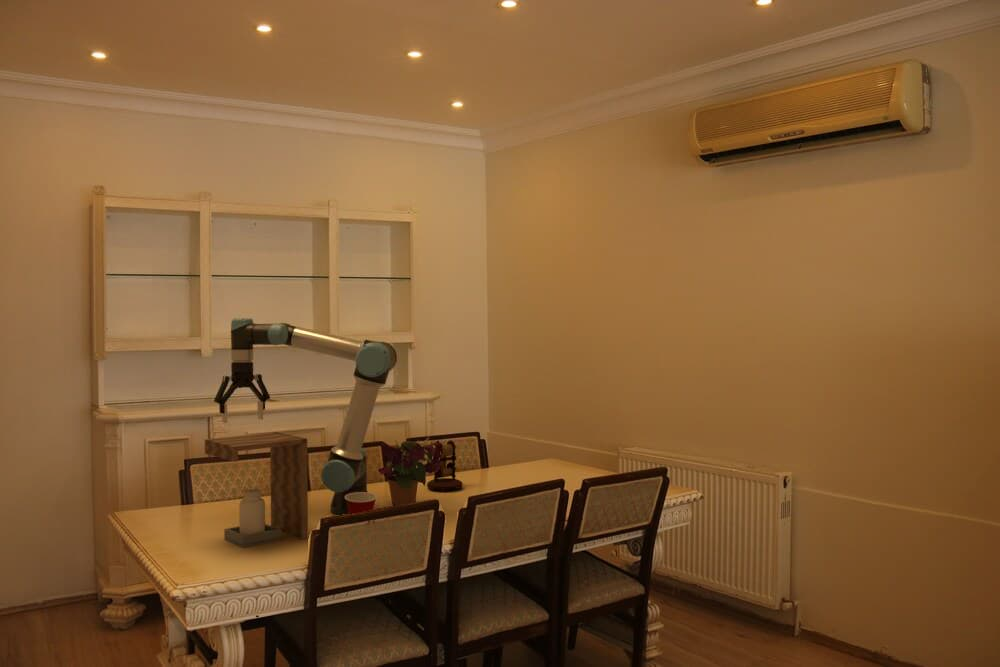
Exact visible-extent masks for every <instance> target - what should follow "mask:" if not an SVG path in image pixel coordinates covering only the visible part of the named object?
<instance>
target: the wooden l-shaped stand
mask: <svg viewBox="0 0 1000 667" xmlns="http://www.w3.org/2000/svg"><path fill="white" fill-rule="evenodd" d="M267 448H268V449H270V451H269V453H270V455H269V456H270V457H269V459H270V465H269V466H270V526H273V527H276V528H278V529H281V533H283V534H284V533H285V534H286V535H290V536H292V537H295V538H297V539H300V540H306V539H309V528H308V527H309V520H308V519H309V518H308V517H309V513H308V512H309V511H308V510H309V508H308V506H309V504H308V503H309V501H308V500H309V499H308V498H309V497H308V483H309V482H308V479H309V478H308V438H306V437H302V436H297V435H292V434H286V433H281V432H277V431H275V432H274V431H273V432H264V433H253V434H246V435H244V434H243V435H235V436H234V435H233V436H227V437H226V436H225V437H216V438H215V437H214V438H205V439H204V454H206V455H209V456H213V457H217V458H220V459H224V460H227V461H231V462H234V463H235V462H239V452H241V451H242V452H243V451H252V450H259V449H260V450H261V449H267Z"/></svg>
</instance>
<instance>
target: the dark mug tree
mask: <svg viewBox="0 0 1000 667" xmlns="http://www.w3.org/2000/svg"><path fill="white" fill-rule="evenodd" d="M437 442H438V443H440V444H441V445H442V449H441V455H440V469H439V470H438V471H437V472H435V473H434V472H433V475H434V478H433V479H431V480H429V481H428V482H427V483H426V487H427V488H428V490H430V489H435V490H441V492H442V493H445V491H446V490H453V489H459V490H462V489H463V486H464V484H463V481H461V480H459V479H457V478H456V476H457V475H456V470H457V467H456V460H457V456H456V448H457V445H456V444H455V442H454V441H453V440H451V439H450V440H448V441H447V442H446V444H442V443H441V442H440V441H437ZM448 461H449V462H448ZM450 461H451V462H450ZM447 462H448V463H447Z"/></svg>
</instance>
